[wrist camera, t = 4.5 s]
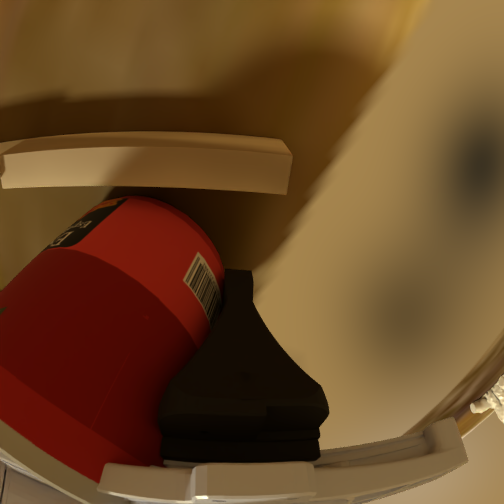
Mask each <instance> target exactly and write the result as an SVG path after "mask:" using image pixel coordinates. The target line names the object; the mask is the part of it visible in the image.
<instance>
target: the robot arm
mask: <svg viewBox="0 0 504 504" xmlns="http://www.w3.org/2000/svg"><path fill="white" fill-rule="evenodd" d="M328 415H329V406H328V402H327V399H326V397H325V394H324V391H323V389H322V387H321V385H319V384H318V383H317V382H316V381H315V380H313V379H312V378H311V377H310V376H309V375H308V374H306V373H305V372H304V371H303V370H302V369H301V368H300V367H299V366H298V365H297V364H296V363H295V362H294V361H293V360H292V359H291V357H290V356H289V355H288V354H287V353H286V352H285V351H284V350H283V348H282V347H281V346H280V345H279V343H278V342H277V341H276V339H275V338H274V337H273V335H272V334H271V332H270V331H269V330H268V328H267V327H266V325H265V323H264V322H263V320H262V318H261V317H260V315H259V313H258V311H257V309H256V307H255V305H254V303H253V276H252V271H247V270H233V269H225V276H224V289H223V304H222V312H221V314H220V316H219V318H218V320H217V322H216V324H215V325H214V327H213V329H212V330H211V332H210V334H209V335H208V337H207V338H206V339H205V341H204V342H203V344H202V345H201V347H200V348H199V349H198V351H197V352H196V353H195V354H194V355H193V357H192V358H191V359H190V360H189V361H188V363H187V364H186V365H185V366H184V367H183V368H182V369H181V370H180V371H179V372H178V373H177V374H176V375H175V376H174V377H173V378H172V379H171V380H170V382H169V384H168V386H167V388H166V390H165V392H164V394H163V396H162V399H161V402H160V405H159V409H158V419H157V423H158V426H159V428H160V431H161V434H162V435H163V437H162V442H161V452H160V455H161V457H162V458H163V459H164V462H163V464H164V465H165V466H166V467H168V468H162V467H158V466H155V465H151V466H150V467H144V466H133V465H124V464H116V463H107V464H105V466H104V469H103V473H102V476H101V480H100V483H99V485H98V487H97V491H98V492H101V493H104V494H109V495H114V496H119V497H123V498H124V500H127V501H131V502H130V504H362V503H366V502H370V501H374V500H377V499H381V498H384V497H387V496H390V495H393V494H397V493H400V492H403V491H406V490H408V489H411V488H414V487H417V486H420V485H423V484H425V483H428V482H431V481H433V480H435V479H438V478H440V477H442V476H444V475H446V474H447V473H449V472H451V471H453V470H455V469H457V468H458V467H460V466H462V465H464V464H465V463H467V462H468V457H467V455H466V451H465V448H464V445H463V442H462V439H461V436H460V433H459V430H458V427H457V425H456V422H455V419H454V417H450V418H447V419H444V420H440V421H437V422H434V423H432V424H431V425H429V426H428V427H426V428H425V429H424V431H421V432H417V433H413V434H409V435H405V436H401V437H397V438H393V439H388V440H383V441H378V442H374V443H368V444H362V445H356V446H350V447H343V448H335V449H327V450H320V448H319V442H318V439H319V438H320V431H319V427H320V425H321V424H322V423H323V422H324V421H325V419H326V418H327V417H328ZM0 504H84V503H82V502H80V501H78V500H76V499H74V498H72V497H70V496H68V495H66V494H64V493H63V492H61V491H59V490H57V489H55V488H54V487H52V486H50V485H49V484H47V483H45V482H44V481H42V480H40V479H39V478H37V477H36V476H34V475H32V474H31V473H29V472H28V471H26V470H25V469H23V468H22V467H21V466H19V465H18V464H16V463H15V462H14V461H12V460H11V459H9V458H8V457H7V456H5V455H4V454H3V453H1V452H0Z"/></svg>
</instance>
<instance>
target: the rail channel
mask: <svg viewBox="0 0 504 504" xmlns="http://www.w3.org/2000/svg"><path fill="white" fill-rule="evenodd" d="M292 160H293V155H292V154H291V152H290V151H289V149H288V148H287V146H286V145H285V144H284V142H283V141H282V139H274V138H265V137H255V136H244V135H232V134H217V133H198V132H166V131H132V132H100V133H83V134H69V135H57V136H47V137H38V138H30V139H26V140H24V141H22V142H20V143H19V144H17V145H15V146H13V147H11V148H10V149H8V150H6V151H5V152H3V153H1V154H0V176H1V182H2V187H3V188H23V187H52V186H144V187H175V188H198V189H216V190H232V191H246V192H259V193H271V194H283V195H286V194H287V189H288V183H289V177H290V172H291V166H292Z"/></svg>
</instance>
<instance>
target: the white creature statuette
mask: <svg viewBox="0 0 504 504" xmlns="http://www.w3.org/2000/svg"><path fill="white" fill-rule="evenodd" d="M470 408H471V411H472V412H473V413H477V412H478V413H483V412H484V411H486V410H488V409H489V408H493V409H495V411H496V413H497V414H498V418H499V419H500V421H502V422H503V424H504V374H503V375H502V376H500V378H499V381H498V382H497V383H496V384H495V385H494V387H492V389H491V390H489V391H488V393H485V395H484V396H482V397H481V398H480V399H479V400H477V401H475V402H473V403H471V405H470Z"/></svg>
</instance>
